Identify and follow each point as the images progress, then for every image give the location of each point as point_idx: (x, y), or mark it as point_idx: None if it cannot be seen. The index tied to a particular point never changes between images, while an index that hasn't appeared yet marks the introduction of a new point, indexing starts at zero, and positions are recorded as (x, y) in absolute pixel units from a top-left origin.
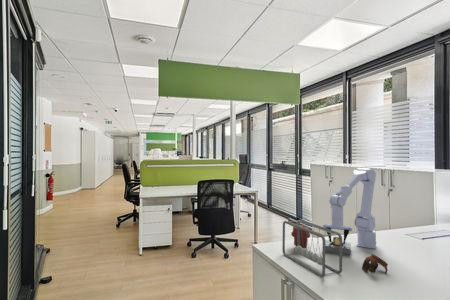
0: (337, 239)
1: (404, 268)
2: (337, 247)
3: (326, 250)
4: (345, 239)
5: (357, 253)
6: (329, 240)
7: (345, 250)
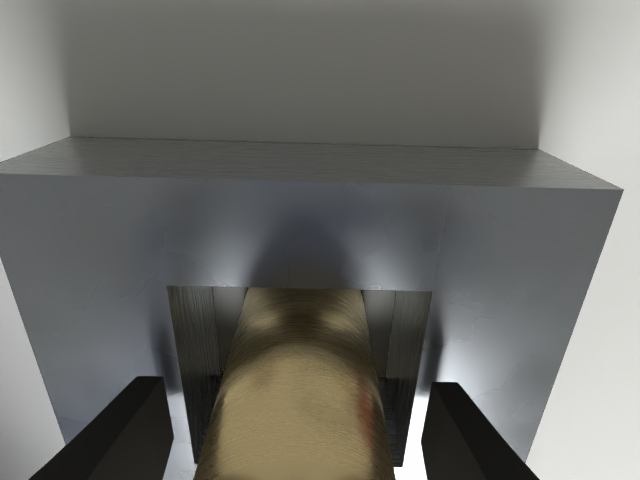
0: (278, 439)
1: None
2: (278, 181)
3: (497, 159)
4: (34, 475)
5: (11, 314)
6: (481, 412)
7: (107, 161)
